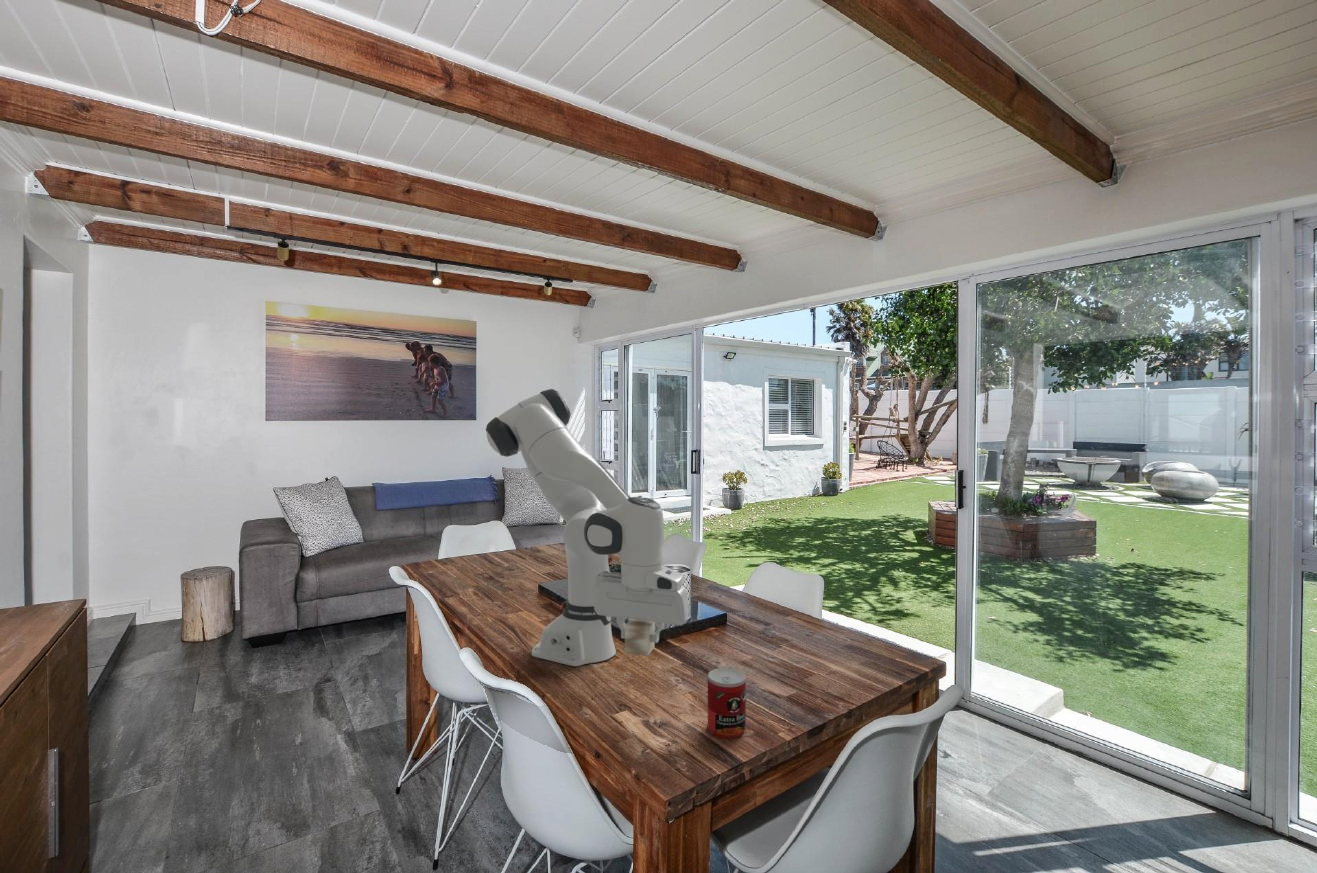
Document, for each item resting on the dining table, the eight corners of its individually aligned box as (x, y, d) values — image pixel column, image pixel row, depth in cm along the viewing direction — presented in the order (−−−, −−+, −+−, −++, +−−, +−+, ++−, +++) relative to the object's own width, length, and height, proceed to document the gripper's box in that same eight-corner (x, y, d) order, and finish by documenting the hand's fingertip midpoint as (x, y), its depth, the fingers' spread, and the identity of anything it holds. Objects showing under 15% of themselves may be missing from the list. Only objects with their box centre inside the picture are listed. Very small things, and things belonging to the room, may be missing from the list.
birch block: (624, 652, 124) (625, 624, 124) (632, 644, 129) (633, 617, 129) (647, 656, 123) (648, 627, 123) (654, 647, 128) (655, 619, 128)
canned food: (715, 742, 115) (716, 686, 115) (701, 722, 123) (702, 669, 123) (752, 736, 117) (752, 681, 117) (736, 717, 125) (736, 665, 125)
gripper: (590, 573, 125) (588, 638, 126) (684, 583, 120) (682, 651, 120) (601, 566, 132) (599, 628, 132) (691, 576, 126) (689, 640, 126)
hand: (640, 639), depth 126 cm, fingers closed on birch block, 5 cm apart
